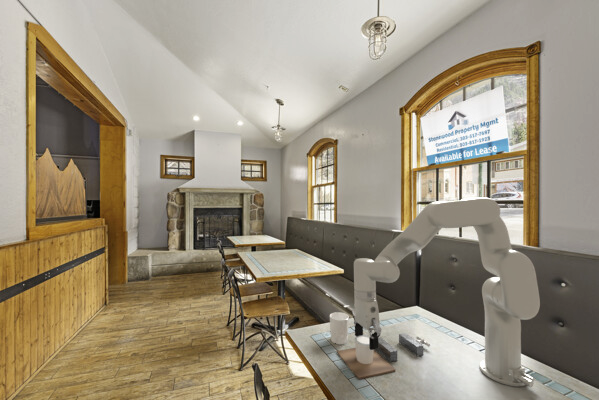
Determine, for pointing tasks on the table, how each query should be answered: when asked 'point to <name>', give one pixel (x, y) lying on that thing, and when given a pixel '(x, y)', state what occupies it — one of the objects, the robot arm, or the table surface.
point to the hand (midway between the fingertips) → (366, 341)
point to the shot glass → (363, 350)
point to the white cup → (339, 327)
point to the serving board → (365, 370)
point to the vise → (406, 341)
